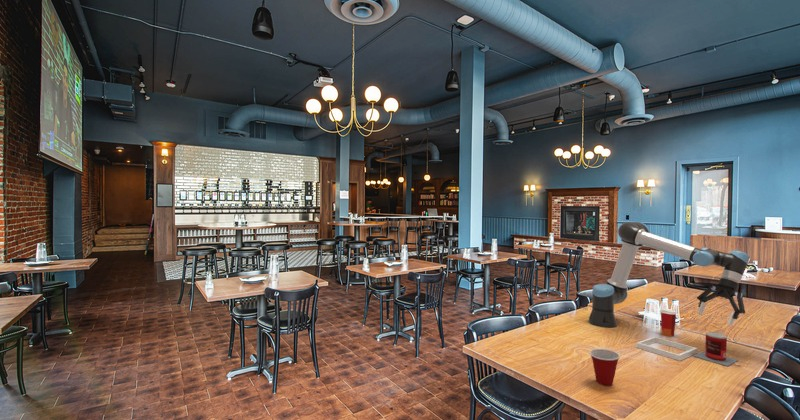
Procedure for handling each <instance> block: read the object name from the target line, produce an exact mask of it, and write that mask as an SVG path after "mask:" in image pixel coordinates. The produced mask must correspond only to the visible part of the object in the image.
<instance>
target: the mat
mask: <svg viewBox="0 0 800 420" xmlns="http://www.w3.org/2000/svg"><path fill="white" fill-rule="evenodd" d="M692 356H693V357H694V358H697V359H700V360H703V361H707V362H711V363H714V364H717V365H720V366H723V367H726V368H727V367H730V366H732V365H733V364H735V362H736V363H737V362H739V359H736V358H733V357H729V356H726V360H724V361H719V360H714V359H711V358H708V357H707V356H706V354H705V350H703V351H701V352H697V354H694V355H692Z"/></svg>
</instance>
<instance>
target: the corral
mask: <svg viewBox="0 0 800 420" xmlns="http://www.w3.org/2000/svg"><path fill="white" fill-rule="evenodd" d="M654 343H657V344H661V345H664V346H668V347H672V348H675V349H679V350H682V351H683V352H681V353H675V352H671V351H667V350H665V349H661V348H658V347H654V346H652V345H651V344H654ZM650 345H651V346H650ZM636 348H637V349H640V350H644V351H646V352H650V353H652V354H656V355H659V356H663V357H666V358H669V359H673V360H675V361H679V362H681V361H683V360H685V359H688V358H690V357H692V356H694V355H696V354H698V348H697V347H694V346H690V345H687V344H684V343H679V342H676V341H671V340H670V339H665V338H661V337H659V336H658V337H657V336H652V337H650V338H649V337H648V338H647V339H644V340H640V341H637V342H636Z"/></svg>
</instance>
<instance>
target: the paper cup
mask: <svg viewBox="0 0 800 420" xmlns="http://www.w3.org/2000/svg"><path fill="white" fill-rule="evenodd" d="M677 314H678V313H677V312H676V310H674V309H671V308H661V310H660V323H661V334H662V335H663V336H665V337H674V336H675V327H676V321H677V320H676V319H677V318H676V317H677Z"/></svg>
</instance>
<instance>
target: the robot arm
mask: <svg viewBox="0 0 800 420" xmlns="http://www.w3.org/2000/svg"><path fill="white" fill-rule="evenodd" d="M617 234H618V236H619V237H620V239H621V243H622V245H621V248H620V251H619V254H618V257H617V259H616V263H615V265H614V269H613V272H612V274H611V277H610V278H609V279H607V281H606V282H605V283H601V284H600V283H598V284H595V285H593V286H592V292H591V293H592V300H591V301H592V306H591V308H592V309H591V312H590V315H589V316H588V317H589V318H588V323H589V324H591V325H593V326H597V327H603V328H616V327H617V324H618V321H617V319H616V315H615V312H614V309H615V305H618V304H622V303H623V302H624V301H626V300H627V298H628V288H629V287H628V285H627V281H628V279H629V276H630V274H631V271H632V267H633V265H634V261H635V260H636V257H637V253H638V252H639V251H638V250H639V249H640V248H642V247H643V246H646V247H649V248H651V249H654V250H657V251H660V252H663V253H665V254H669V255H672V256H675V257H677V258H680V259H684V260H686V261H689V262H691V263H694V264H695V265H697V266H699V267H709V266H712V265H713V266H714V265H715V266H718V267H721V268H724V269H723V271H722V273H721V275H720V278H719V280H718V283H717V286H714V285H712V284H709V286H708V287H707V288H706V290H704V291H703V292H702V293H701V294H699V295H698V296H697V297H696V299H697V300H698V301H699V303H698V310H697V314H698V315H700V316H702V315H703V313H704V311H705V309H706V306H707V302H709V301H711V300H713V299H715V298H718V297H720V298H723V299H726V300H728V301H729V303H730V305H731V307H732V309H733V310H732V311H731V312H730V316H729V317H728V320H727V324H728V325H729V326H733V324H734V322H735V320H738V318H739V316H740V315H741V314H743V315H744V314H746V309H745V304H744V300H743V298H744V294H743V293H741V292H737V290H738V288H739V286H740V283H741V280H742V277H743V275H744V274H745V271H746V268H747V267H748V263H749V261H750V255H749V254H748V253H747V252H746V253H745V252H744V251H740V250H732V251H730V252H723V251H720V250H716V249H712V248H708V247H701V248H697V247H694V246H692V245H688V244H685V243H682V242H680V241H676V240H673V239H669V238H667V237H664V236H661V235H658V234H655V233H654V234H653V233H651V231H650V228H649V227H648V226H647V224H645V223H643V222H639V221H632V222H631V221H630V222H623V223H622V224H621V225H620V226H619V227H618V230H617ZM734 296H735V297H736V300H737V302H736V301H735V299H734Z"/></svg>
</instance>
